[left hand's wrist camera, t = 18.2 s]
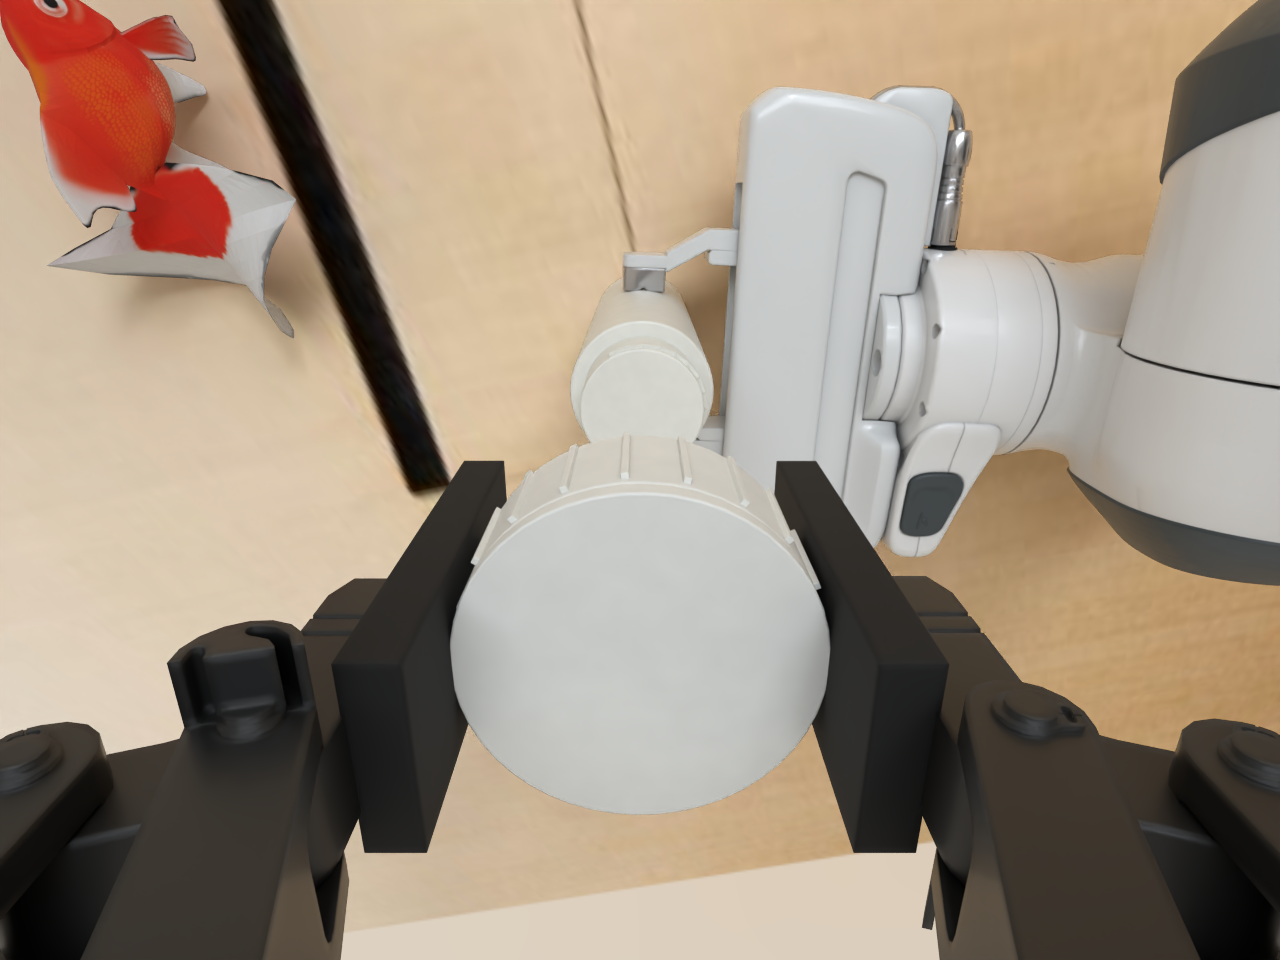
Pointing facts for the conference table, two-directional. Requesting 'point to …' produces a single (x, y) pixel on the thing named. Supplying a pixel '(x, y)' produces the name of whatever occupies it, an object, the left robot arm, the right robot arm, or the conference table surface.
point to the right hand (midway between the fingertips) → (621, 343)
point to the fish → (139, 152)
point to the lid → (640, 629)
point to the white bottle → (641, 368)
